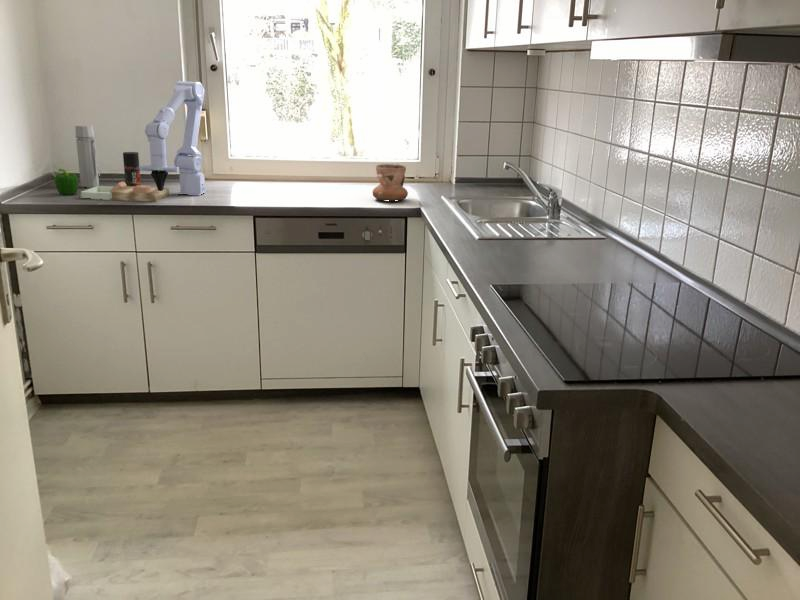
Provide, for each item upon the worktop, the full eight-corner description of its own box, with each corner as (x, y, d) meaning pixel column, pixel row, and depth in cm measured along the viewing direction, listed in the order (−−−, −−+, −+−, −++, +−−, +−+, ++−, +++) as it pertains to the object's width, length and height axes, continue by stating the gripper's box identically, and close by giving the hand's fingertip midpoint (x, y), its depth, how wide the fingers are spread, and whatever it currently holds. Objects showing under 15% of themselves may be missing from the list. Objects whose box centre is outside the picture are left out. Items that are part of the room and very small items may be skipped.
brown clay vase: (391, 205, 282) (392, 169, 278) (363, 200, 290) (364, 165, 286) (417, 200, 296) (419, 165, 292) (389, 195, 304) (390, 162, 300)
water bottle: (76, 187, 294) (69, 125, 286) (89, 184, 301) (83, 124, 294) (94, 189, 292) (88, 127, 284) (107, 186, 299) (102, 125, 291)
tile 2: (150, 190, 276) (150, 185, 276) (146, 193, 272) (145, 187, 271) (138, 190, 277) (137, 185, 276) (133, 192, 272) (132, 187, 271)
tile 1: (126, 185, 283) (123, 181, 283) (121, 187, 278) (118, 183, 278) (118, 192, 284) (114, 188, 284) (112, 194, 280) (109, 190, 279)
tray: (126, 193, 286) (125, 187, 285) (110, 199, 272) (109, 193, 271) (98, 192, 286) (97, 185, 286) (80, 198, 272) (79, 192, 271)
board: (168, 195, 285) (168, 188, 284) (155, 201, 272) (155, 194, 271) (127, 193, 285) (126, 186, 284) (112, 199, 272) (111, 191, 271)
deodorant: (131, 191, 291) (128, 154, 286) (123, 189, 294) (119, 152, 290) (144, 189, 296) (141, 153, 291) (135, 187, 299) (132, 151, 294)
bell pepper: (84, 193, 283) (81, 167, 280) (73, 196, 275) (70, 170, 272) (64, 192, 284) (61, 166, 281) (52, 195, 276) (49, 169, 273)
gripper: (135, 155, 266) (138, 191, 270) (173, 156, 265) (175, 193, 270) (142, 153, 273) (145, 188, 277) (179, 154, 272) (182, 189, 276)
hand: (160, 190), depth 274 cm, fingers closed
